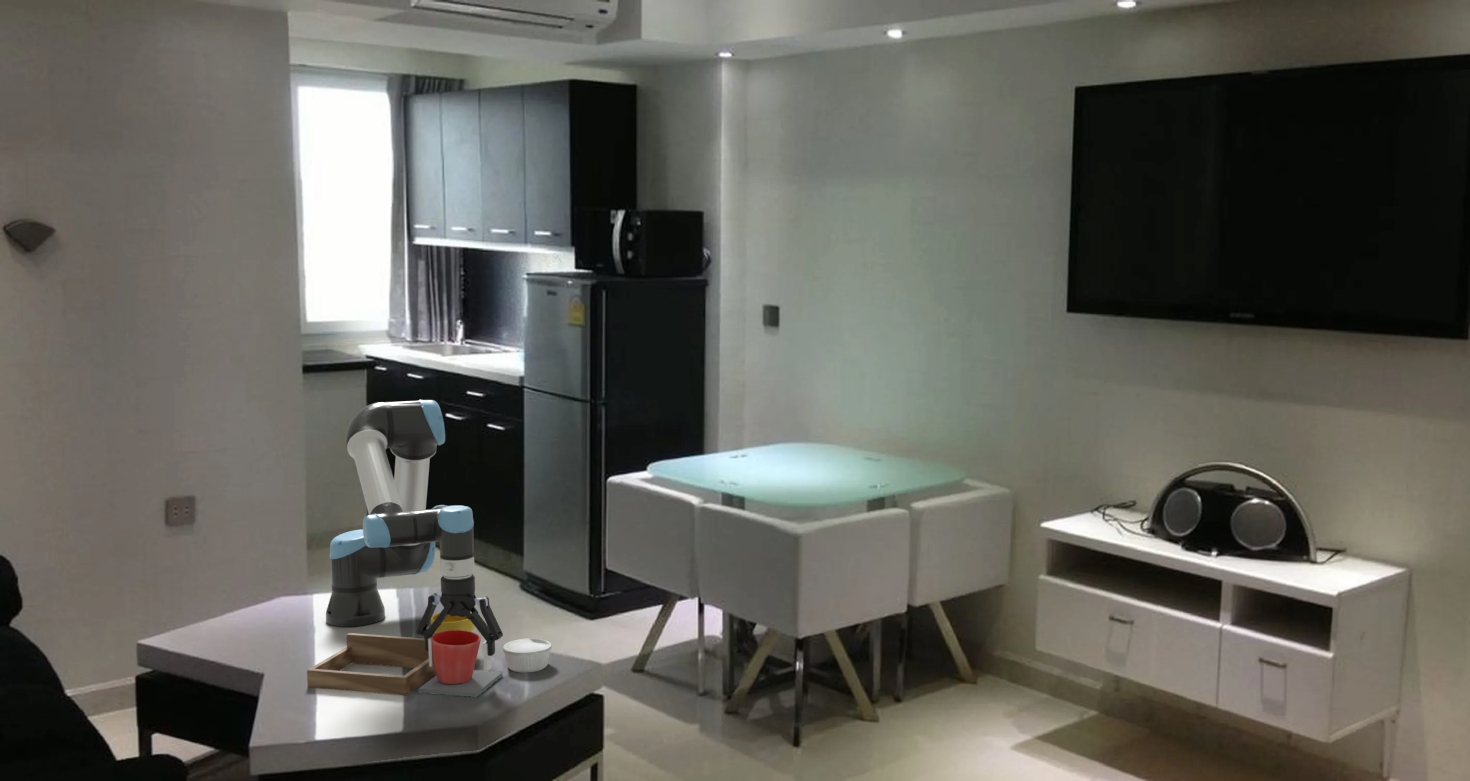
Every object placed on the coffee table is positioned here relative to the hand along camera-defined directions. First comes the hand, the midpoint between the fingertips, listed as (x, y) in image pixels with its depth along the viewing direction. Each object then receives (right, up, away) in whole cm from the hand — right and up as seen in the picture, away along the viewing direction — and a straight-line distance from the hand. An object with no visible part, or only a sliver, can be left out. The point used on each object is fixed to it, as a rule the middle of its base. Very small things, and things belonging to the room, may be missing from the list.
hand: (460, 666), depth 286 cm
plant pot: (-6, -2, +21) cm, 22 cm away
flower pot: (-2, -3, +1) cm, 3 cm away
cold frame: (-20, -4, +5) cm, 21 cm away
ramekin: (+13, -3, +13) cm, 19 cm away
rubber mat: (0, -4, 0) cm, 4 cm away
